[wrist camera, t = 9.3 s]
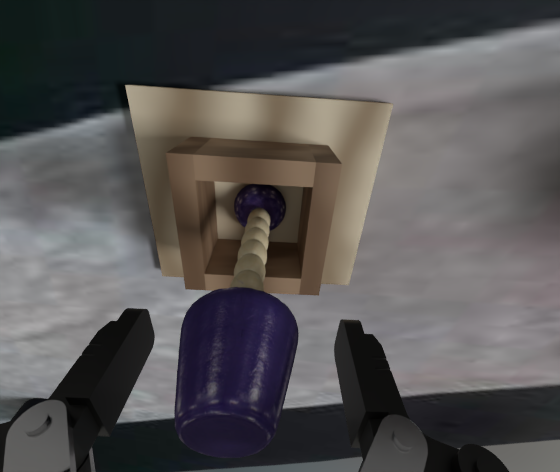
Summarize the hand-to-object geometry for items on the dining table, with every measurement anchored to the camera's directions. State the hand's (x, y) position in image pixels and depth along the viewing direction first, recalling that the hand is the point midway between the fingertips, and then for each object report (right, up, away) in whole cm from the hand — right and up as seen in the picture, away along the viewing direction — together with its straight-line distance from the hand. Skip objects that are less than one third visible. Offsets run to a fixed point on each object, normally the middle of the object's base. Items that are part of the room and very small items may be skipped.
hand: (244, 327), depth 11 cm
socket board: (0, +7, +12) cm, 14 cm away
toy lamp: (0, +7, +11) cm, 13 cm away
